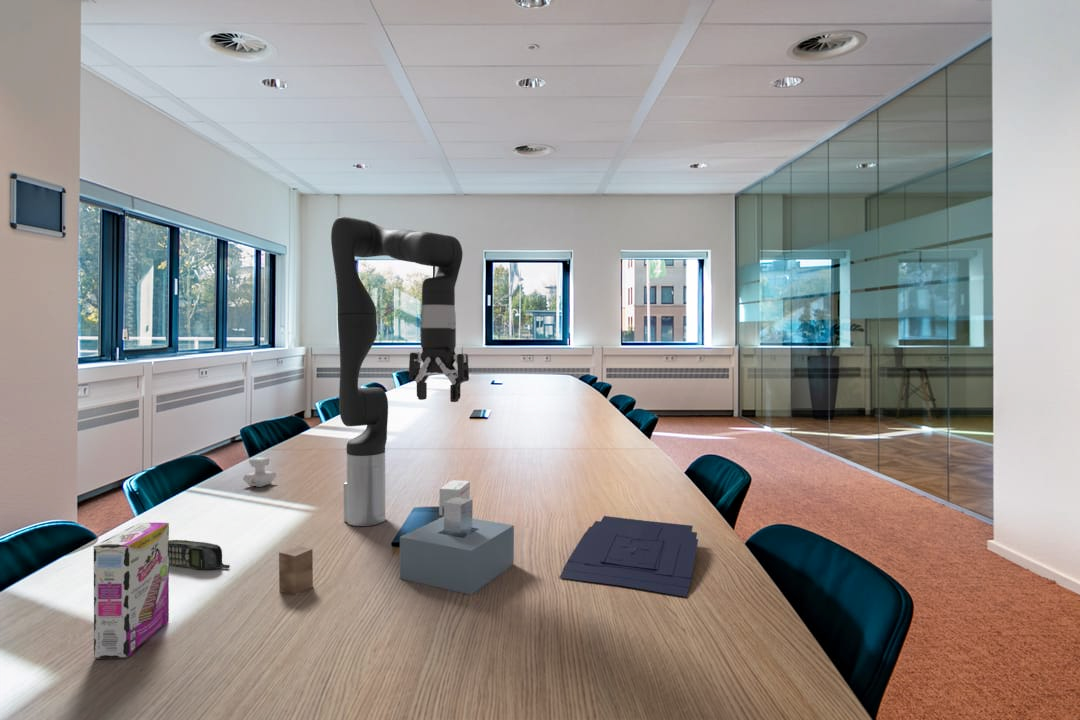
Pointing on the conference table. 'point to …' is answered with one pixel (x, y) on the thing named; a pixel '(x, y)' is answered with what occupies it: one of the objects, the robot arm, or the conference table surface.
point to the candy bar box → (130, 589)
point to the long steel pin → (458, 517)
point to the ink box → (453, 493)
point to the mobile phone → (195, 555)
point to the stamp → (259, 473)
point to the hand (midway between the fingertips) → (438, 400)
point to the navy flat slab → (635, 555)
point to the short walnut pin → (295, 569)
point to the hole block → (457, 555)
